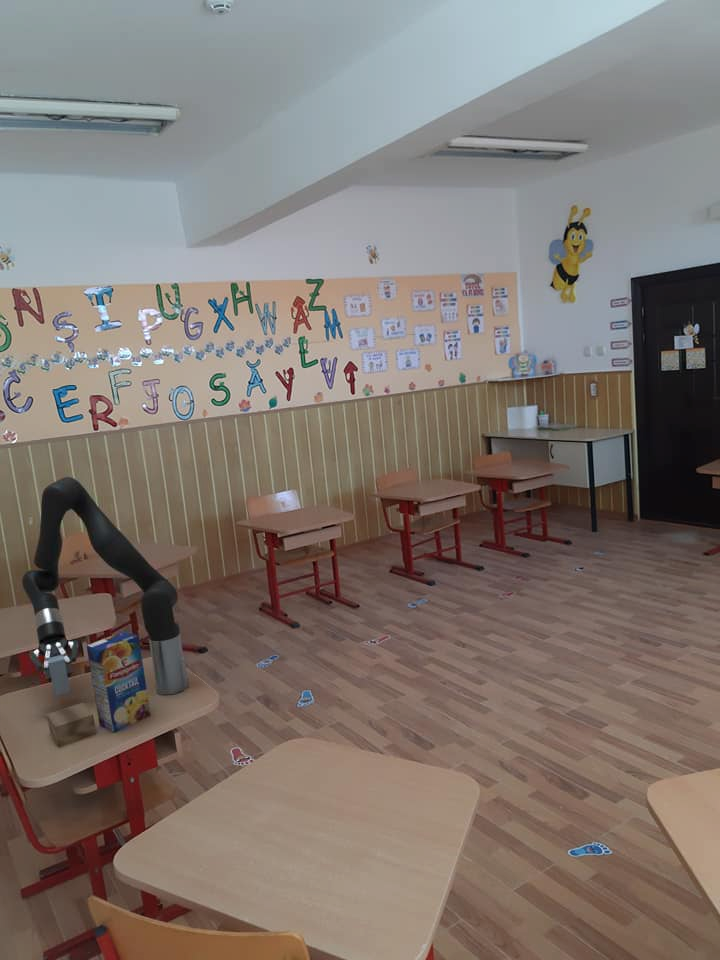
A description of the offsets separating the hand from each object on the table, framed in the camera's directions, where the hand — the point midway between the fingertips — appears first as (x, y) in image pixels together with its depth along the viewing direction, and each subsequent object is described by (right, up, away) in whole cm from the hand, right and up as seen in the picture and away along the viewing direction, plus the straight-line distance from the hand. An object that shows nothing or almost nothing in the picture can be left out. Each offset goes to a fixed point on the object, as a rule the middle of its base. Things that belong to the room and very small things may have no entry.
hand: (59, 678), depth 215 cm
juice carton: (+20, -11, -4) cm, 23 cm away
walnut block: (+7, -13, -8) cm, 17 cm away
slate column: (0, -4, +2) cm, 5 cm away
